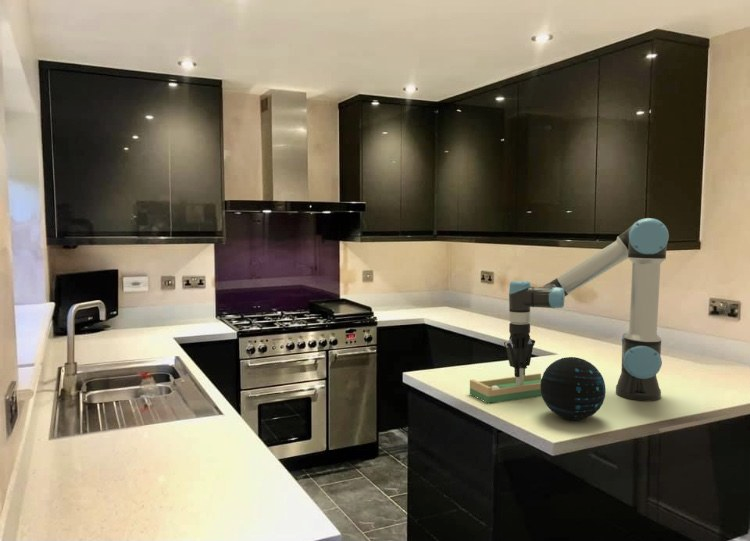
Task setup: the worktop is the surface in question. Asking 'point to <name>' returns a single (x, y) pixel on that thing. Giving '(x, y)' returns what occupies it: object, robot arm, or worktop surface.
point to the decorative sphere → (573, 388)
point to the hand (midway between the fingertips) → (519, 385)
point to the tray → (506, 388)
